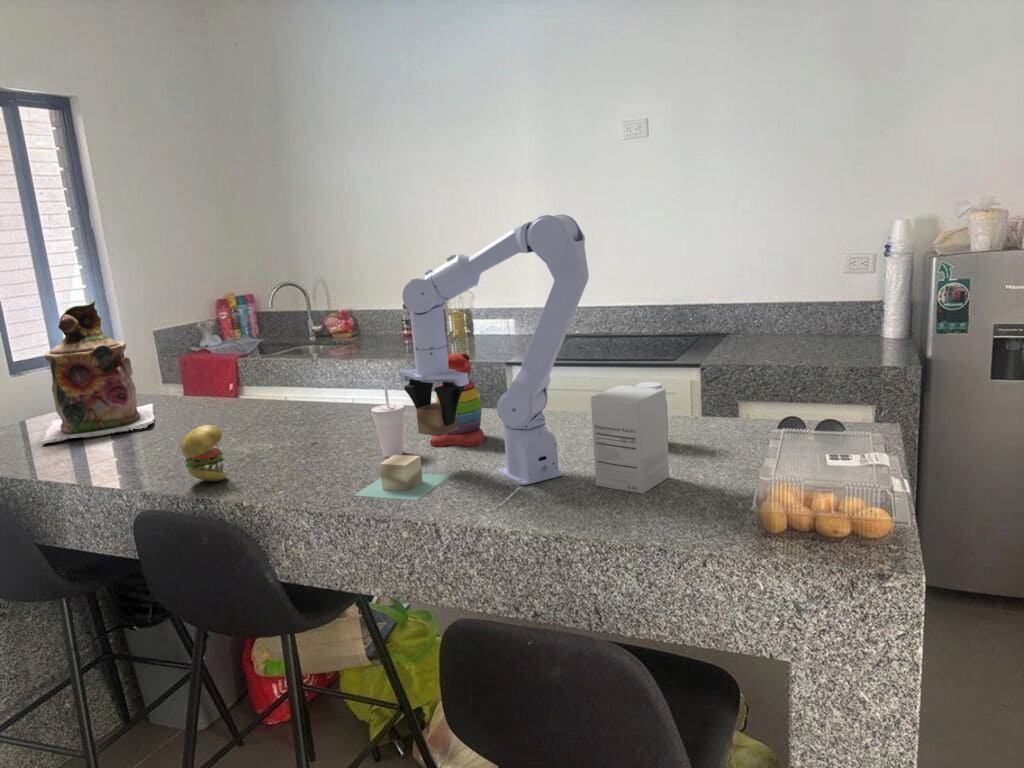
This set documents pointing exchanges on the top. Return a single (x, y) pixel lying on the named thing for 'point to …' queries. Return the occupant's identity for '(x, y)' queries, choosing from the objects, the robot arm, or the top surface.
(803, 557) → the top surface
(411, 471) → the maple block
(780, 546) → the top surface
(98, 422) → the cookie jar
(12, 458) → the top surface
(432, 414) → the walnut block
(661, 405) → the supplement box
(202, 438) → the hamburger
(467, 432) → the stacking bear
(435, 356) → the robot arm
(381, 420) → the smoothie
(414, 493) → the mat
